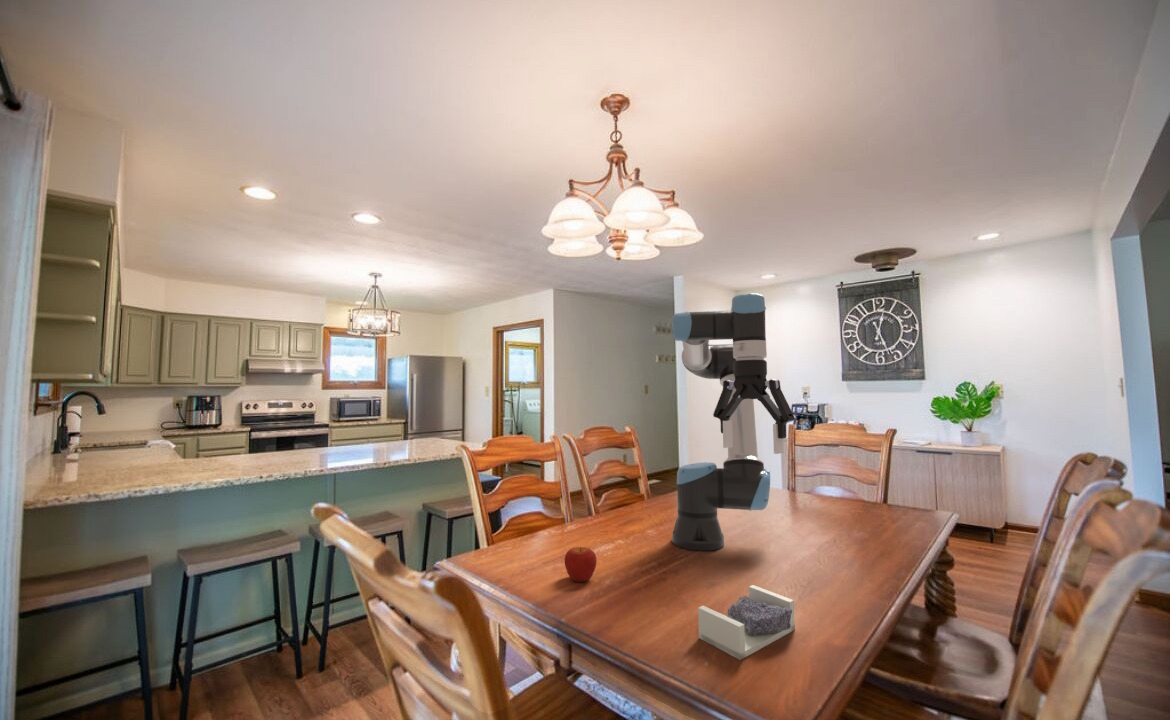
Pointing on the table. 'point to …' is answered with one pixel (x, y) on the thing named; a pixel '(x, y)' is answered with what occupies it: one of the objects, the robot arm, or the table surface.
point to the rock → (760, 616)
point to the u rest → (741, 626)
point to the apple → (580, 563)
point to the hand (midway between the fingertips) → (752, 450)
